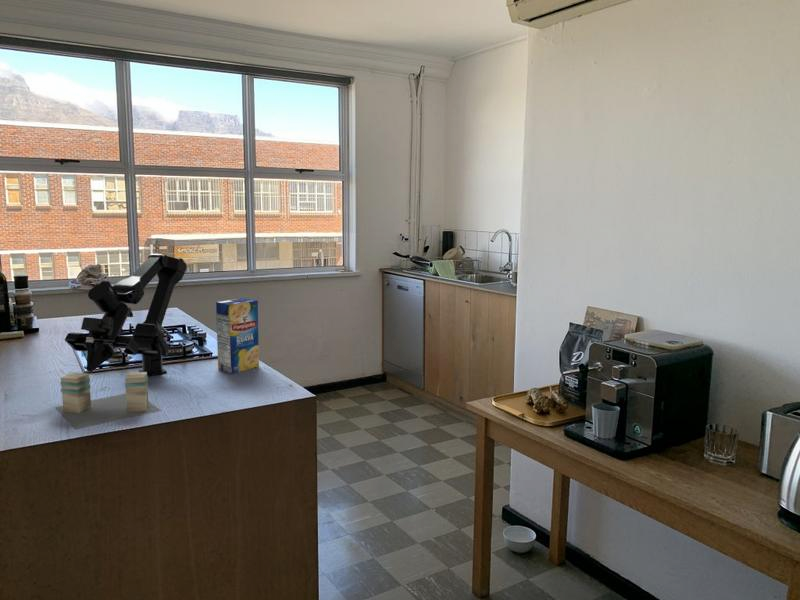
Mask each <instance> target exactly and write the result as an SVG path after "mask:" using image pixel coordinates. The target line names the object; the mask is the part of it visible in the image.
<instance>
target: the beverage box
mask: <svg viewBox="0 0 800 600" xmlns="http://www.w3.org/2000/svg"><path fill="white" fill-rule="evenodd" d="M215 309H216V335H217V336H216V339H217V341H216V342H217V343H216V344H217V370H218V371H221V372H224V373H227V374H230V375H232V374H236V373H240V371H241V372H245V371H248V370H247V369H249V370H252V369H251V368H253V369H255V368H254V367H256V368H259V367H260V359H259V358H260V355H259V354H260V353H259V352H260V351H259V349H260V347H259V343H260V342H259V301H258V299H257V300H256V299H251V298H247V297H242V298H236V299H228V300H221V301H217V302H215ZM258 366H259V367H258ZM244 370H245V371H244Z"/></svg>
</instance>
